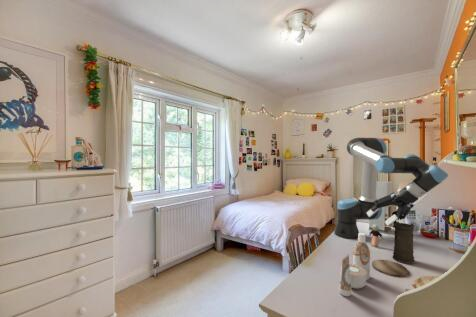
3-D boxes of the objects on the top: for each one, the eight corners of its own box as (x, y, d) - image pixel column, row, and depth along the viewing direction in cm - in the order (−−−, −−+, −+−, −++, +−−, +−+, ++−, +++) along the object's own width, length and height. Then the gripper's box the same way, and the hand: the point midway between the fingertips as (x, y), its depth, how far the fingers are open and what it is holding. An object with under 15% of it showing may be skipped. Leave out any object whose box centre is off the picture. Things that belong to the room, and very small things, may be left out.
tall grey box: (385, 233, 159) (387, 182, 158) (369, 229, 167) (370, 181, 166) (391, 230, 166) (392, 181, 166) (374, 226, 174) (375, 180, 174)
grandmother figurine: (367, 245, 137) (367, 224, 137) (368, 243, 140) (369, 222, 140) (382, 249, 132) (382, 226, 132) (383, 247, 135) (384, 225, 135)
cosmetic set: (354, 303, 83) (355, 251, 83) (329, 292, 90) (330, 244, 90) (375, 278, 101) (375, 234, 101) (352, 270, 108) (353, 229, 107)
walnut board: (391, 261, 117) (392, 259, 117) (415, 275, 103) (415, 273, 103) (365, 262, 116) (365, 260, 115) (386, 277, 102) (386, 274, 102)
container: (418, 265, 113) (419, 228, 113) (397, 263, 115) (398, 226, 115) (408, 257, 122) (409, 223, 122) (389, 255, 124) (390, 221, 124)
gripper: (399, 187, 104) (363, 216, 114) (434, 207, 111) (397, 233, 121) (389, 177, 110) (356, 205, 120) (423, 196, 117) (389, 221, 127)
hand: (377, 219), depth 120 cm, fingers open, 13 cm apart
